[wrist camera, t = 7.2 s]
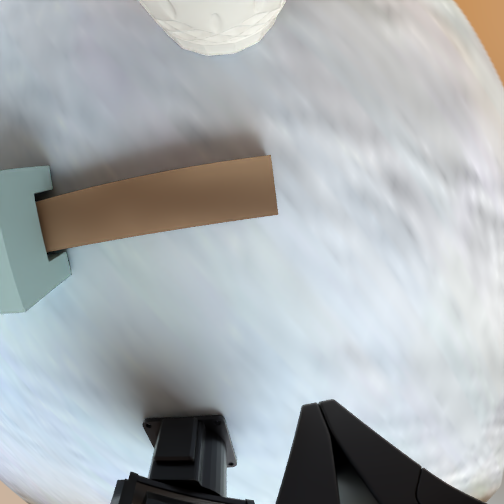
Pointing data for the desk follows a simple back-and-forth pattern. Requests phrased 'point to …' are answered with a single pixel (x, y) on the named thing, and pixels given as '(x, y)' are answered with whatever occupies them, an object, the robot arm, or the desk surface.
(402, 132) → the desk surface
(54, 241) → the rail
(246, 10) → the white cup
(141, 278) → the desk surface
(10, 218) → the block
